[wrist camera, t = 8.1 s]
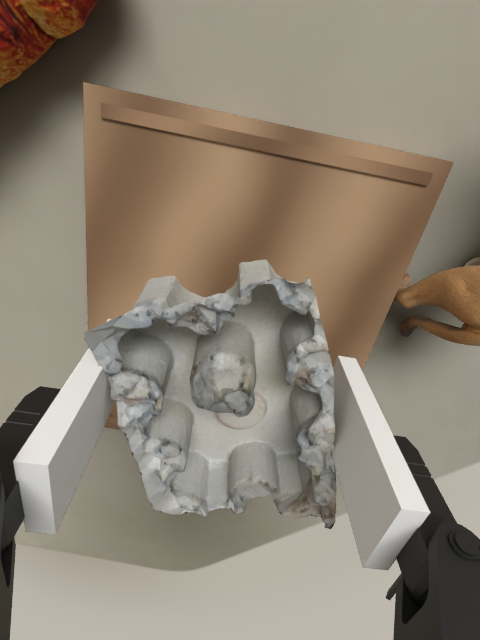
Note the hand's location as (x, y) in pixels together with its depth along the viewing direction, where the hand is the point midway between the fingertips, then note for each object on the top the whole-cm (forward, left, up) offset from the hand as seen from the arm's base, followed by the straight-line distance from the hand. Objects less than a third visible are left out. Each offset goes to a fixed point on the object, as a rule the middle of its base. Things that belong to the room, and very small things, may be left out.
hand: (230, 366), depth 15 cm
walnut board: (0, 0, -6) cm, 6 cm away
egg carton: (0, +1, -1) cm, 1 cm away
